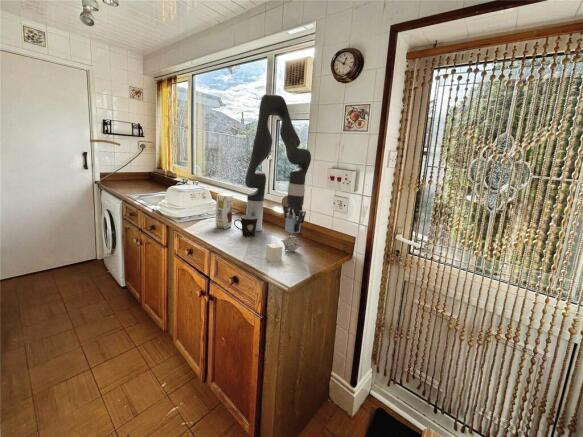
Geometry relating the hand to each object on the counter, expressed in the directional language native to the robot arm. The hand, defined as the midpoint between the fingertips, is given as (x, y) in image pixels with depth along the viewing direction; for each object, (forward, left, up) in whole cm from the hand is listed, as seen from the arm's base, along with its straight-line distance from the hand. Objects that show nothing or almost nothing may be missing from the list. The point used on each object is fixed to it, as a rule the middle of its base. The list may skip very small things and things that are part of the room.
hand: (292, 230), depth 138 cm
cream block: (+5, -13, -10) cm, 17 cm away
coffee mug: (-31, -7, -11) cm, 33 cm away
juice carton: (-50, -11, -11) cm, 52 cm away
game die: (0, 0, -11) cm, 11 cm away
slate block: (0, 0, -1) cm, 1 cm away
